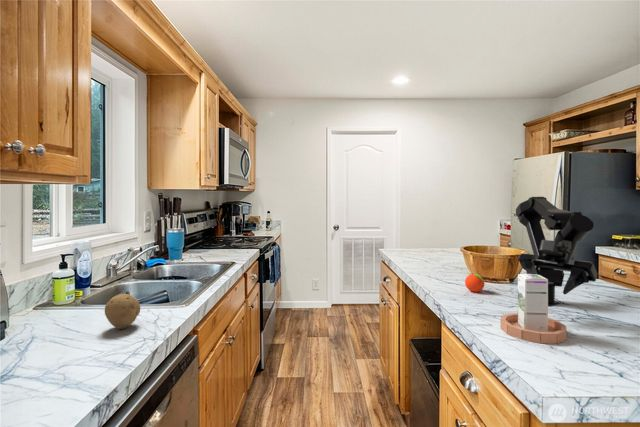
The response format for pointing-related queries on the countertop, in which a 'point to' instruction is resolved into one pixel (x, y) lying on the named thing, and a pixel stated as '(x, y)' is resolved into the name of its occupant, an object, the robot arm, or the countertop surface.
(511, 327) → the terracotta dish
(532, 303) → the syrup box
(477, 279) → the clementine
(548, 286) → the robot arm
